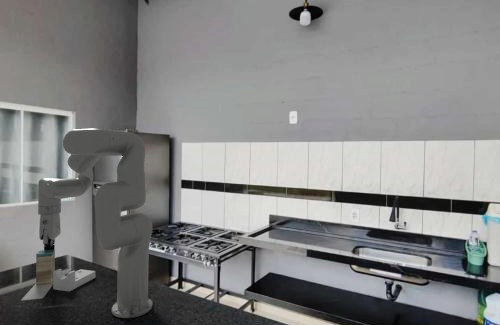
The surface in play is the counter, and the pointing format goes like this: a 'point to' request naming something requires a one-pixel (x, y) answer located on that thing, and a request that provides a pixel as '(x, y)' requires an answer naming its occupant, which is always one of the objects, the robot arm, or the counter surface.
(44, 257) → the maple block
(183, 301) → the counter surface
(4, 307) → the counter surface
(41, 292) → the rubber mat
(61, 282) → the bracket
